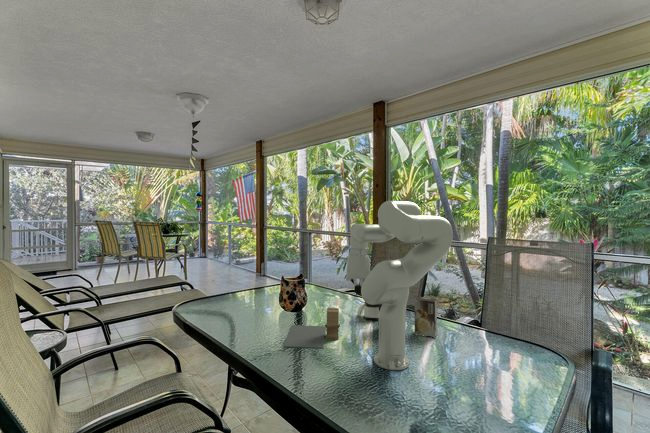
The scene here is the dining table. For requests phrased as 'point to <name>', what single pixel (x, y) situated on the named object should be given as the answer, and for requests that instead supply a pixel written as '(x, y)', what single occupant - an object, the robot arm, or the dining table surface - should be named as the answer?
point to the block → (332, 323)
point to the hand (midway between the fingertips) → (357, 294)
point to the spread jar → (369, 311)
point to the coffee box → (426, 316)
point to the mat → (305, 337)
